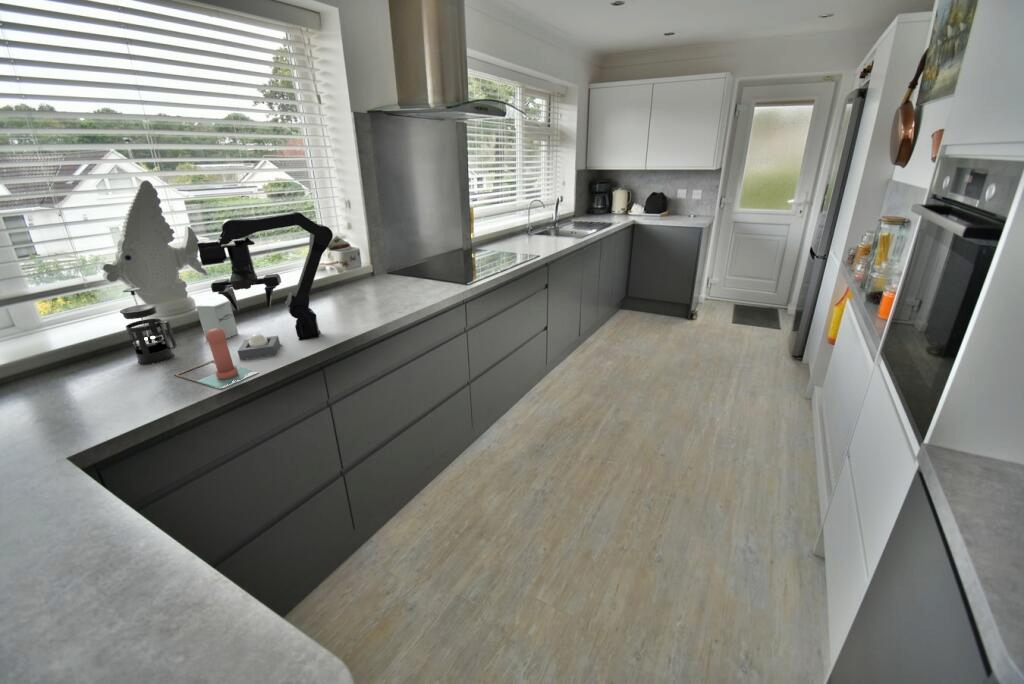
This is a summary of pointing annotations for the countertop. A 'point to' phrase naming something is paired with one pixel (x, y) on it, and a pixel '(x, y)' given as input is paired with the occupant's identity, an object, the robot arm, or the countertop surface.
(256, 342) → the cream white ball
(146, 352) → the french press
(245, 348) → the box
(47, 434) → the countertop surface
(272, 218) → the robot arm
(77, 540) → the countertop surface
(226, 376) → the pawn
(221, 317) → the supplement box
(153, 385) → the countertop surface
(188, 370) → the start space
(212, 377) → the tile
